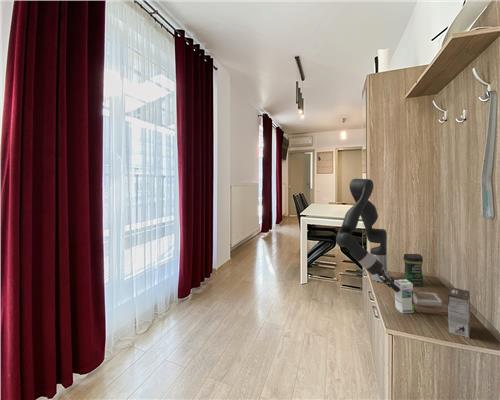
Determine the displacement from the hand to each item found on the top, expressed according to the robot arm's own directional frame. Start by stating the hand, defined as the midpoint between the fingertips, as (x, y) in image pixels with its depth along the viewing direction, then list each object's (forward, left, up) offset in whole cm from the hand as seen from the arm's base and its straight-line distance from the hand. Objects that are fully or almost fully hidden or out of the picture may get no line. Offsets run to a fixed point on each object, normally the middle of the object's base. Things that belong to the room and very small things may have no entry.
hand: (396, 287), depth 115 cm
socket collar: (-8, +14, -10) cm, 19 cm away
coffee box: (+12, +20, -11) cm, 26 cm away
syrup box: (0, +3, -11) cm, 12 cm away
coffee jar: (-35, +15, -11) cm, 40 cm away
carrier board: (-10, +15, -11) cm, 21 cm away
